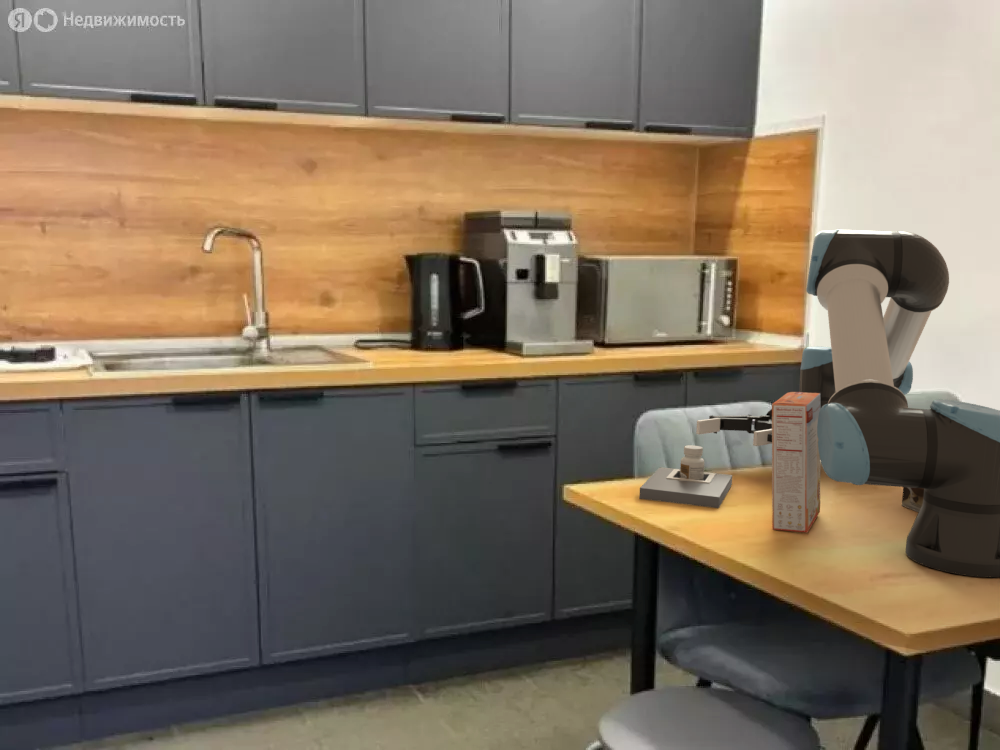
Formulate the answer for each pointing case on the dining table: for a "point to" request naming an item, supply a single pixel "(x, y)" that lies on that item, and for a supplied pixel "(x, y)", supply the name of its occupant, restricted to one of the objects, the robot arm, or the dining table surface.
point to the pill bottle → (692, 463)
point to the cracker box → (795, 462)
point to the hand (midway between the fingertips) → (725, 433)
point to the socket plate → (686, 488)
